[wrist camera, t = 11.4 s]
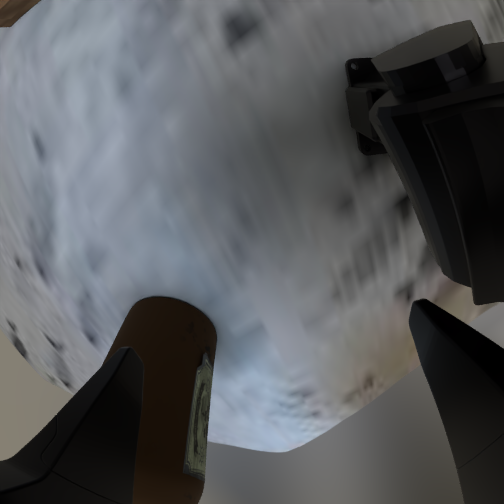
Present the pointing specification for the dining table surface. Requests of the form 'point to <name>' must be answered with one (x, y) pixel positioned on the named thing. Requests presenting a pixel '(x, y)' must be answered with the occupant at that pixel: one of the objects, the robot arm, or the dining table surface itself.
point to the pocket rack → (14, 10)
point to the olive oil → (171, 397)
